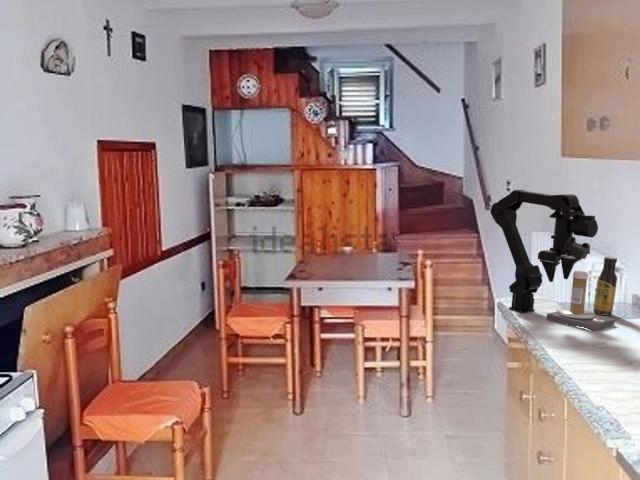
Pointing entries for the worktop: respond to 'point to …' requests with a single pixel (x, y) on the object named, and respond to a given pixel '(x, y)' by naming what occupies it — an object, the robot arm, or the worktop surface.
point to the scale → (583, 321)
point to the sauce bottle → (606, 288)
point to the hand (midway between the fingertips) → (558, 280)
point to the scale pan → (566, 313)
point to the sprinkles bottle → (578, 292)
